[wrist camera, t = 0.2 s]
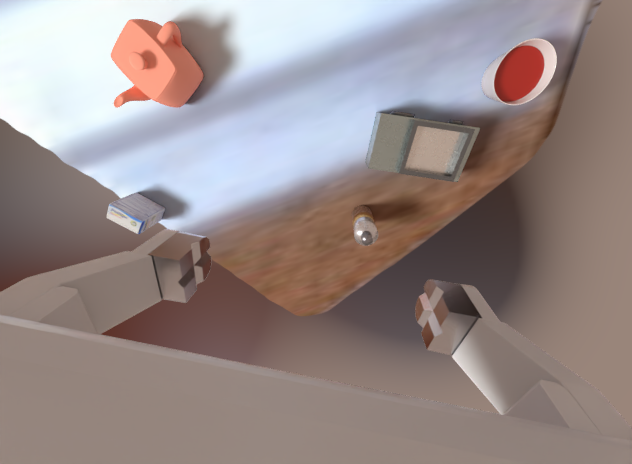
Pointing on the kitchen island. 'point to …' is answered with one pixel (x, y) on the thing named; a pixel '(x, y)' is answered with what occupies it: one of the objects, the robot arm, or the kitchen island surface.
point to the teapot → (155, 64)
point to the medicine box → (135, 212)
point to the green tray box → (420, 146)
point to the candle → (520, 72)
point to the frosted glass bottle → (364, 225)
